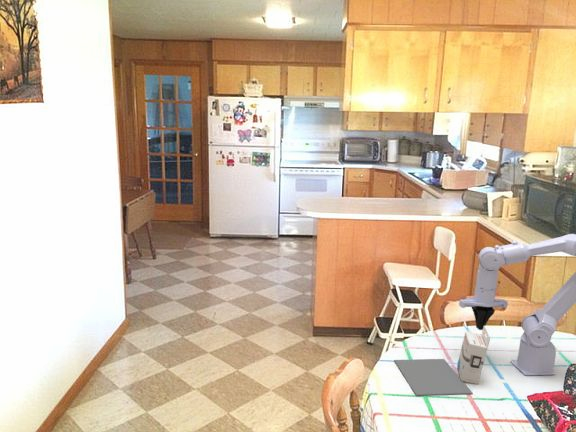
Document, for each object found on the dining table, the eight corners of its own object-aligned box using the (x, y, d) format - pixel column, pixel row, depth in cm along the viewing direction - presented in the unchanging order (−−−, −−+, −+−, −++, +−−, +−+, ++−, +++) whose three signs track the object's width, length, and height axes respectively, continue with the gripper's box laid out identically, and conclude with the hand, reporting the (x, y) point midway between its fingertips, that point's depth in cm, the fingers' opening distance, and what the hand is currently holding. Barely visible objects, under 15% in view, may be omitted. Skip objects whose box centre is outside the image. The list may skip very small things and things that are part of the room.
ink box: (456, 365, 140) (467, 321, 136) (473, 369, 139) (484, 324, 136) (460, 380, 132) (472, 333, 128) (478, 385, 131) (490, 337, 127)
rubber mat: (443, 360, 144) (444, 358, 144) (472, 394, 126) (472, 392, 126) (394, 361, 142) (394, 359, 142) (416, 396, 125) (416, 394, 124)
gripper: (501, 282, 145) (494, 322, 147) (456, 282, 143) (451, 322, 146) (514, 290, 138) (507, 332, 141) (467, 290, 136) (462, 333, 139)
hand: (479, 328), depth 143 cm, fingers closed
